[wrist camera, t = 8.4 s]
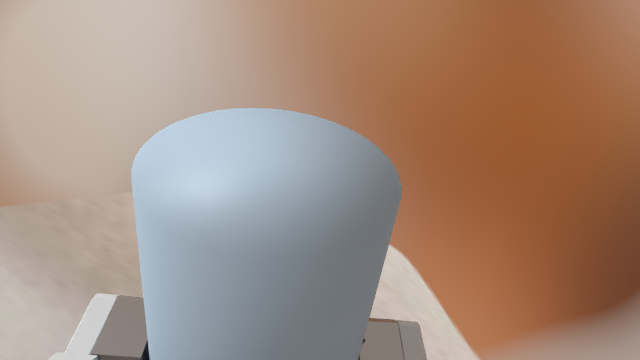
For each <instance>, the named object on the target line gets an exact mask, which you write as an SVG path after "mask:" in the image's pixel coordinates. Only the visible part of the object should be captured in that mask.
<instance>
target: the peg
mask: <svg viewBox="0 0 640 360" xmlns="http://www.w3.org/2000/svg"><path fill="white" fill-rule="evenodd" d="M131 180H132V190H133V200H134V210H135V220H136V230H137V240H138V249H139V259H140V269H141V279H142V289H143V299H144V308H145V318H146V328H147V338H148V348H149V358H150V360H358V358H359V354H360V350H361V347H362V343H363V339H364V335H365V332H366V328H367V324H368V320H369V317H370V313H371V309H372V305H373V302H374V298H375V294H376V290H377V287H378V283H379V279H380V275H381V272H382V268H383V264H384V260H385V257H386V253H387V249H388V245H389V242H390V238H391V234H392V230H393V227H394V223H395V219H396V215H397V211H398V208H399V204H400V200H401V191H402V187H401V182H400V177H399V175H398V173H397V170H396V168H395V167H394V165H393V164H392V162H391V161H390V159H389V158H388V157H387V156H386V155H385V154H384V152H382V151H381V150H380V149H379V148H378V147H377V146H376V145H374V144H373V143H371V142H370V141H369V140H368V139H366V138H365V137H363V136H361V135H360V134H358V133H356V132H355V131H353V130H350V129H348V128H346V127H344V126H342V125H339V124H337V123H334V122H332V121H329V120H326V119H323V118H319V117H316V116H312V115H308V114H304V113H299V112H293V111H287V110H279V109H266V108H238V109H227V110H219V111H213V112H208V113H203V114H199V115H196V116H192V117H189V118H186V119H183V120H180V121H178V122H176V123H174V124H172V125H169V126H168V127H166V128H164V129H163V130H161V131H159V132H158V133H157V134H155V135H154V136H153V137H151V138H150V139H149V140H148V141H147V142H146V143H145V144H144V145H143V146H142V147H141V149H140V151H139V152H138V153H137V155H136V157H135V160H134V162H133V165H132V172H131Z"/></svg>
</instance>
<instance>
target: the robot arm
mask: <svg viewBox="0 0 640 360" xmlns="http://www.w3.org/2000/svg"><path fill="white" fill-rule="evenodd" d="M47 360H150V358H149V348H148V338H147V328H146V318H145V308H144V299H143V298H139V297H131V296H122V295H111V294H101V293H97V294H96V295H95V296H94V297H93V298H92V300H91V302H90V304H89V306H88V308H87V310H86V312H85V314H84V316H83V317H82V319H81V321H80V323H79V325H78V327H77V329H76V331H75V333H74V335H73V337H72V339H71V341H70V343H69V345H68V347H67V349H66V351H65V353H63V352H57V353H56V354H54V355H53V356H52V357H50V358H49V359H47ZM358 360H427V358H426V353H425V349H424V344H423V339H422V334H421V329H420V325H419V324H418V323H417V322H411V321H400V320H391V319H378V318H369V320H368V324H367V328H366V332H365V335H364V339H363V343H362V347H361V350H360V354H359V358H358Z"/></svg>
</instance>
